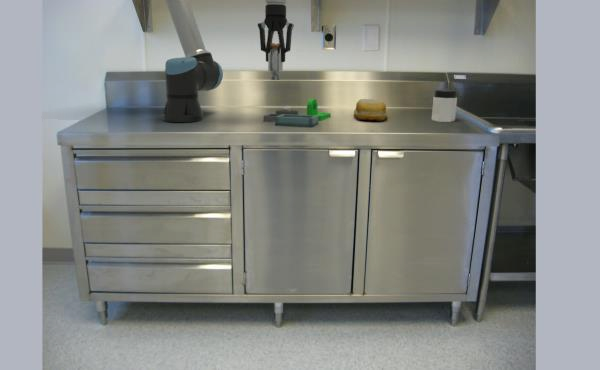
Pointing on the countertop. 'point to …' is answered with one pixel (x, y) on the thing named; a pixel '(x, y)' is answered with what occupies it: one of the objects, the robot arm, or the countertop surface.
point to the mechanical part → (313, 110)
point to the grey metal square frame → (270, 117)
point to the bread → (370, 110)
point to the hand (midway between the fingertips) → (275, 71)
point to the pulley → (287, 111)
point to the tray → (296, 120)
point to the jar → (444, 105)
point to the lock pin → (275, 61)
